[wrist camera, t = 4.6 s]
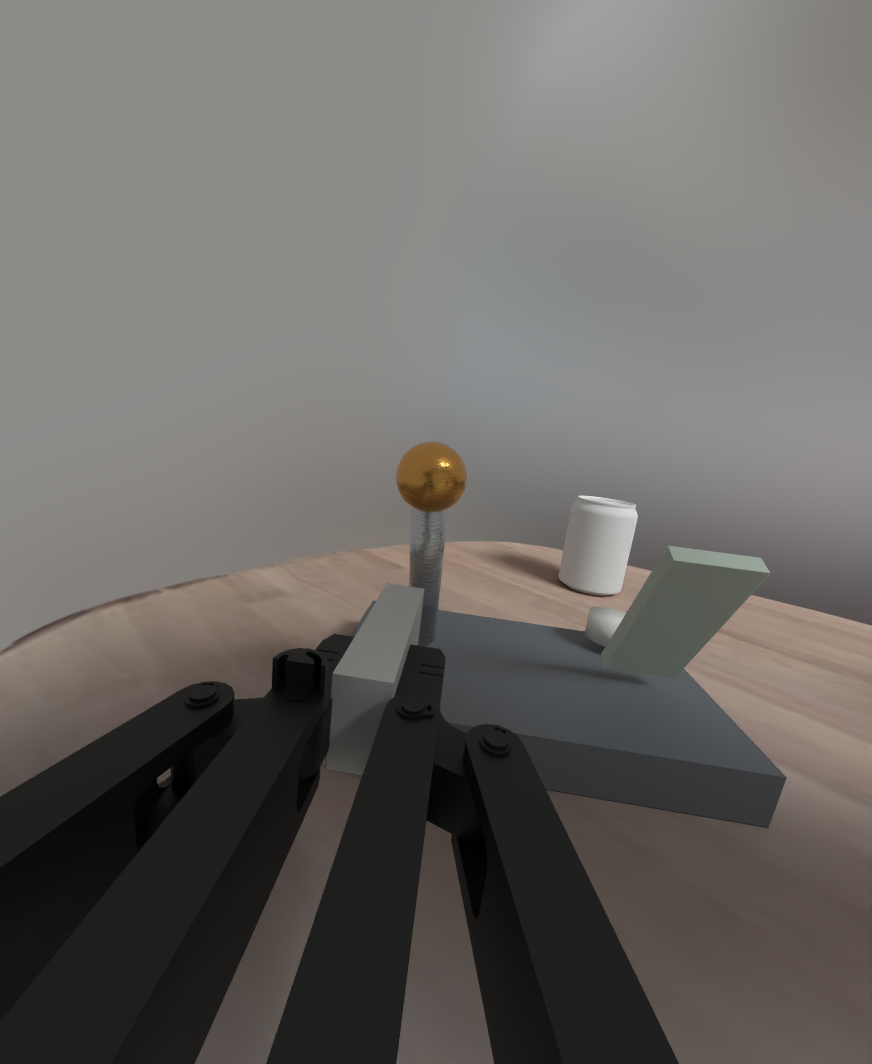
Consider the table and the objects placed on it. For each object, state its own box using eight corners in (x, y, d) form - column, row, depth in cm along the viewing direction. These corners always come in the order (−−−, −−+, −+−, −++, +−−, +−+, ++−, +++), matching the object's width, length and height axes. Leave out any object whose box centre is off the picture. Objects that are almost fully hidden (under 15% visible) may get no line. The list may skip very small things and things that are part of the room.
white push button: (624, 631, 33) (629, 610, 33) (642, 653, 29) (648, 631, 29) (579, 625, 33) (584, 604, 33) (592, 646, 30) (597, 623, 29)
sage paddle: (669, 664, 27) (761, 558, 20) (673, 678, 26) (770, 573, 19) (600, 654, 27) (668, 545, 20) (603, 668, 26) (673, 560, 19)
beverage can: (630, 601, 52) (652, 509, 49) (568, 594, 52) (586, 501, 49) (605, 580, 60) (622, 499, 57) (550, 574, 60) (565, 492, 57)
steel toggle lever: (448, 617, 28) (472, 433, 19) (442, 659, 26) (467, 472, 16) (402, 611, 28) (403, 425, 19) (393, 651, 26) (388, 462, 16)
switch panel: (650, 675, 34) (659, 642, 34) (768, 827, 21) (786, 777, 20) (370, 632, 36) (373, 600, 35) (306, 748, 22) (309, 699, 21)
